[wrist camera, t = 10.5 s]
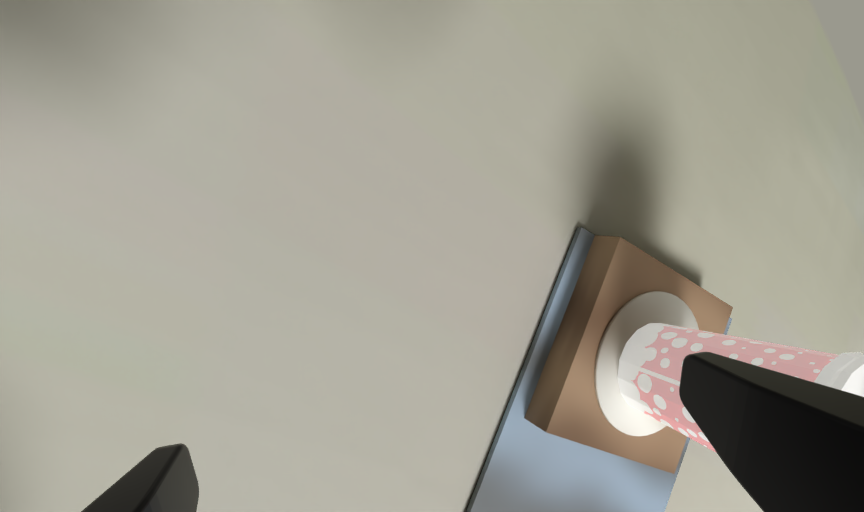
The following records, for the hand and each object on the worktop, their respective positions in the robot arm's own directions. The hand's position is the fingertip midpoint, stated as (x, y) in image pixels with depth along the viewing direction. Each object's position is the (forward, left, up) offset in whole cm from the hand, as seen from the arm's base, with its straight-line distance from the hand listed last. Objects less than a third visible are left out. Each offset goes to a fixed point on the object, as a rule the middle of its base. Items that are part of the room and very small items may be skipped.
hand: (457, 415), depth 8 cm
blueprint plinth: (0, -18, -12) cm, 22 cm away
